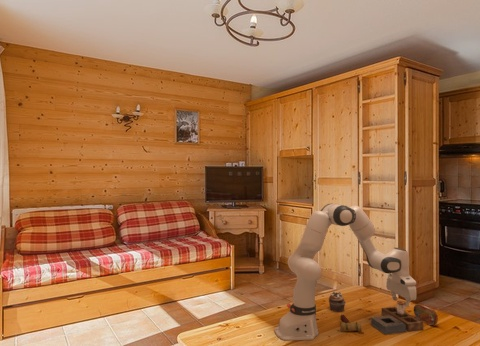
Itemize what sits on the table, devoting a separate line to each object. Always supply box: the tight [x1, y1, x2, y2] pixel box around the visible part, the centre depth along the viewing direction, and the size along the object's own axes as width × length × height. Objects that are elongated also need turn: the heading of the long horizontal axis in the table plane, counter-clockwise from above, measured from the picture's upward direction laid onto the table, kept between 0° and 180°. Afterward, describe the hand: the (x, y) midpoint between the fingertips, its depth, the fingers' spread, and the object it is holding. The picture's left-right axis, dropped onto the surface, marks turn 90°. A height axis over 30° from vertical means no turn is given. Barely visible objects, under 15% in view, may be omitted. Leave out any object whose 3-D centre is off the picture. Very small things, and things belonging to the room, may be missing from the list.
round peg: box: [396, 300, 406, 317], centre depth 188 cm, size 4×4×11 cm
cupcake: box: [328, 291, 346, 313], centre depth 207 cm, size 10×10×10 cm
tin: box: [413, 303, 439, 326], centre depth 188 cm, size 15×3×8 cm, turn 13°
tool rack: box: [381, 306, 424, 333], centre depth 188 cm, size 9×22×4 cm, turn 13°
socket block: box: [370, 315, 407, 335], centre depth 181 cm, size 12×12×4 cm
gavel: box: [339, 314, 362, 333], centre depth 187 cm, size 21×5×10 cm
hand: (400, 303), depth 188 cm, fingers open, 8 cm apart
